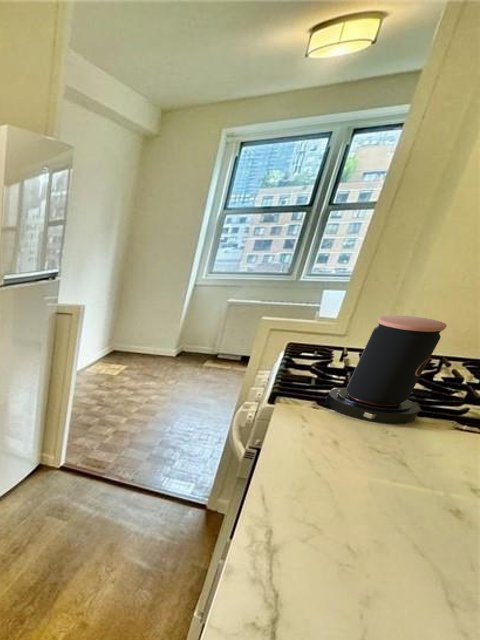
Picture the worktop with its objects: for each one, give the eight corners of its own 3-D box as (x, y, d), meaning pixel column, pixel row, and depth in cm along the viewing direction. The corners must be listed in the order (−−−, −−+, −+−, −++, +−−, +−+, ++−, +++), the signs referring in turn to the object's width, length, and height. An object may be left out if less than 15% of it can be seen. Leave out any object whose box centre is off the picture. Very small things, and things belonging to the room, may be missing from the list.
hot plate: (433, 419, 110) (441, 406, 109) (378, 427, 107) (385, 415, 106) (358, 393, 124) (364, 382, 122) (308, 401, 121) (313, 389, 119)
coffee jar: (411, 409, 107) (454, 329, 99) (348, 400, 113) (384, 324, 104) (399, 393, 115) (438, 318, 107) (341, 386, 120) (374, 313, 112)
